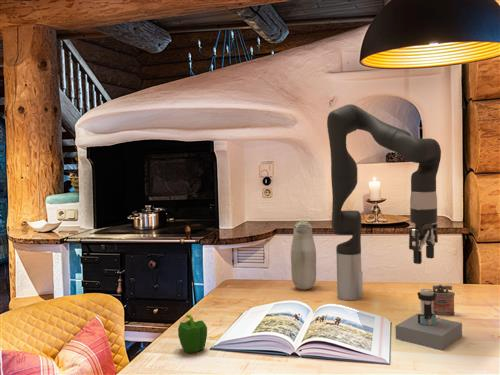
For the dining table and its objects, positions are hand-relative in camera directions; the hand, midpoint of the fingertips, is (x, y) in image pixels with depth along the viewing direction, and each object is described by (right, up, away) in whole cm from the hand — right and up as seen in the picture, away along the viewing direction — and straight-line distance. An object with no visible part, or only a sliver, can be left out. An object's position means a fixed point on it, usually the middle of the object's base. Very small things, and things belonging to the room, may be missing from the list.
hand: (423, 260), depth 150 cm
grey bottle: (-29, -20, +57) cm, 67 cm away
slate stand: (+1, -23, -1) cm, 23 cm away
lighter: (+13, -21, +20) cm, 32 cm away
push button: (+2, -19, 0) cm, 19 cm away
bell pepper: (-68, -25, -4) cm, 73 cm away
